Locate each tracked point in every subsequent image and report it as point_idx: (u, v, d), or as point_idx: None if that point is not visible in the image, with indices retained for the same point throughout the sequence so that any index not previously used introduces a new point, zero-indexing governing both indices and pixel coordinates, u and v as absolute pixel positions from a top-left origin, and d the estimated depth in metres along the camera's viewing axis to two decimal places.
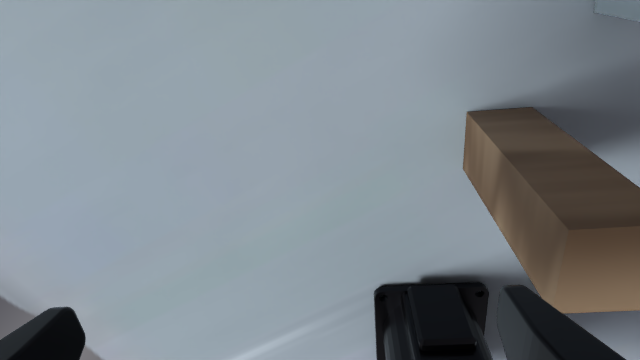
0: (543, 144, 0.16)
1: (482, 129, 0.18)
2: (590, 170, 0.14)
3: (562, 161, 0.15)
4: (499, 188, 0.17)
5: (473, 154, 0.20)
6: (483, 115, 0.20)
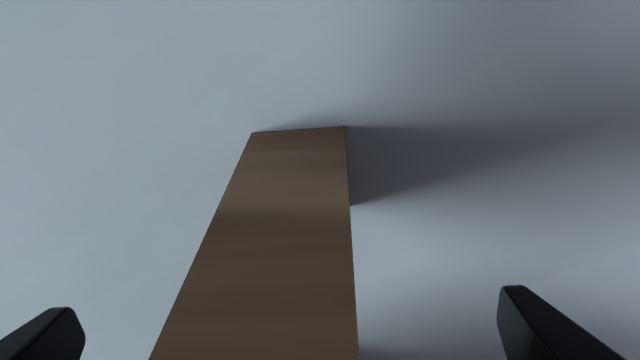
0: (293, 197, 0.10)
1: None
2: (310, 261, 0.08)
3: (283, 238, 0.09)
4: None
5: None
6: (266, 139, 0.13)
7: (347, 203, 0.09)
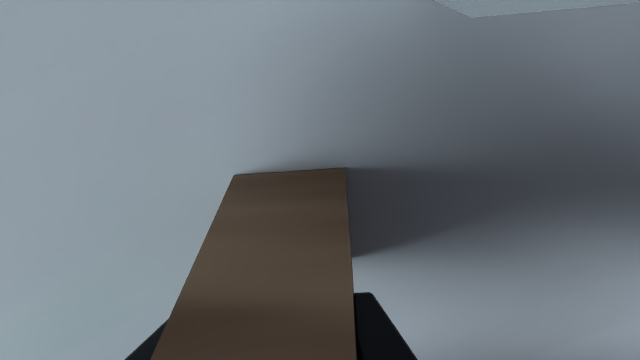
0: (279, 279, 0.08)
1: (211, 225, 0.09)
2: None
3: (262, 356, 0.06)
4: None
5: None
6: (250, 185, 0.11)
7: (350, 293, 0.07)
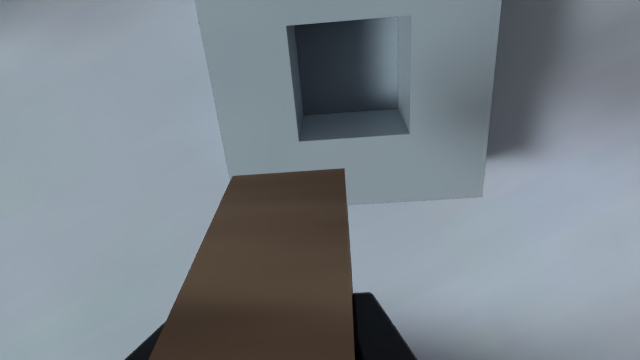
0: (277, 281, 0.08)
1: (210, 225, 0.09)
2: None
3: (261, 357, 0.06)
4: None
5: None
6: (249, 186, 0.11)
7: (349, 294, 0.07)
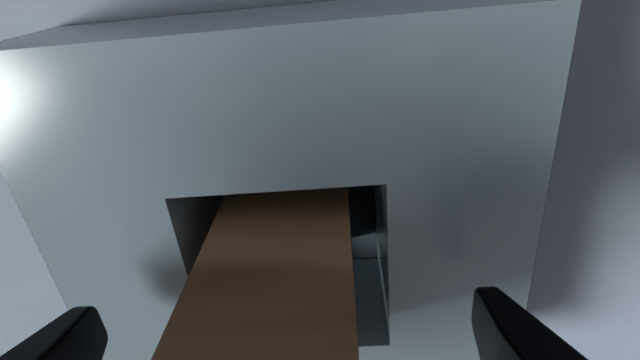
0: (285, 245, 0.08)
1: (222, 201, 0.10)
2: (304, 340, 0.06)
3: (273, 305, 0.07)
4: None
5: None
6: None
7: (349, 255, 0.08)
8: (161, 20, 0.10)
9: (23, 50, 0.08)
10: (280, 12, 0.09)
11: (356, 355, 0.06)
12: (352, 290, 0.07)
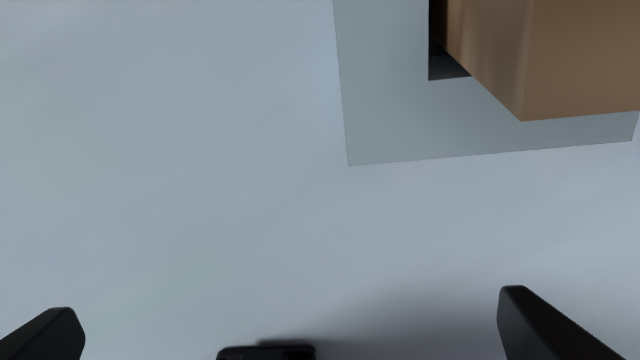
0: None
1: None
2: None
3: None
4: (463, 16, 0.13)
5: (439, 5, 0.16)
6: None
7: None
8: None
9: None
10: None
11: None
12: None
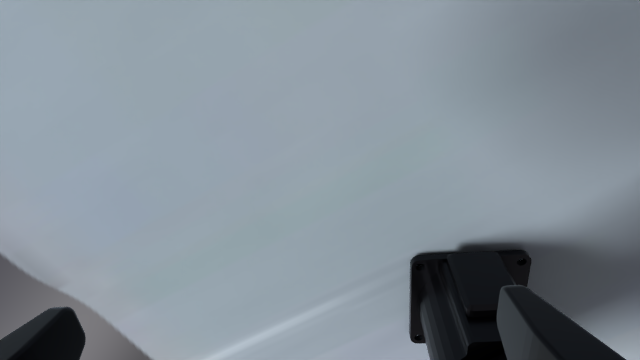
0: None
1: None
2: None
3: None
4: None
5: None
6: None
7: None
8: None
9: None
10: None
11: None
12: None
